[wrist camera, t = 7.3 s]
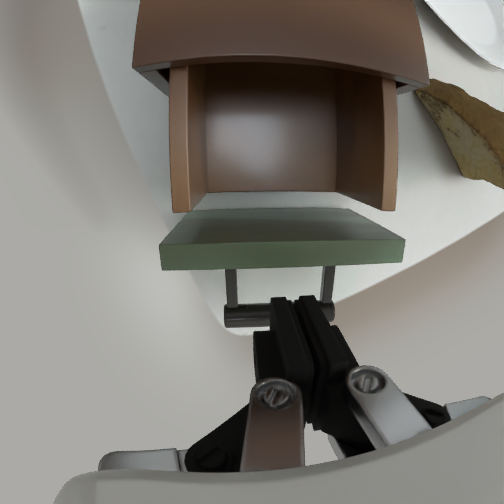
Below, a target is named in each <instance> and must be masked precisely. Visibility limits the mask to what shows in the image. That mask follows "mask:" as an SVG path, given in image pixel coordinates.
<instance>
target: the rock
mask: <svg viewBox="0 0 504 504" xmlns="http://www.w3.org/2000/svg"><path fill="white" fill-rule="evenodd" d="M429 82H430V85H429V86H426V87H422V88H420V89H416V90H415V92H416V94H417V95H418V97H419V99H420V100H421V102H422V103H423V104H424V105H425V107H426V108H427V110H428V111H429V113H430V114H431V116H432V118H433V119H434V121H435V123H436V124H437V125H438V127H439V129H440V131H441V132H442V134H443V136H444V140H445V142H446V143H447V145H448V147H449V149H450V151H451V153H452V155H453V156H454V158H455V160H456V161H457V163H458V166H459V169H460V171H461V173H462V174H463V176H464V177H465V178H469V179H474V180H482V179H483V180H485V181H487V182H490V183H492V184H493V185H495V186H498V187H500V188H502V189H504V112H501V111H499V110H496V109H494V108H493V107H491V106H489V105H488V104H487V103H485V102H483V101H480V100H479V99H477V98H475V97H471V96H470V95H468V94H467V93H466V92H465V91H464V90H463V89H461V88H460V87H458V86H455V85H453V84H447V83H444V82H441V81H438V80H436V79H429Z"/></svg>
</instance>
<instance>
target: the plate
mask: <svg viewBox="0 0 504 504" xmlns="http://www.w3.org/2000/svg"><path fill="white" fill-rule="evenodd" d="M424 1H425V2H426V3H427V4H428V6H429V7H430V8H431V9H432V10H433V11H434V12H435V13H436V15H437V16H438V17H439V18H440V19H441V20H442V21H443V22H444V23H445V24H446V25H447V26H448V27H449V28H450V29H451V30H452V31H453V32H454V33H455V34H456V35H457V37H458V38H459V39H461V40H462V41H463V42H464V43H465V44H466V45H467V46H469V47H470V48H471V49H472V50H473V51H474V52H475V53H476V54H478V55H479V56H480V57H482V58H483V59H485V60H486V61H487V62H489V63H490V64H492V65H494V66H497V67H499V68H501V69H504V3H503V1H502V0H424Z"/></svg>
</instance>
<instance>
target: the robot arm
mask: <svg viewBox="0 0 504 504" xmlns="http://www.w3.org/2000/svg"><path fill="white" fill-rule="evenodd" d="M253 351H254V368H255V377H256V384H255V385H254V387H253V388H252V390H251V394H250V401H249V404H247V405H246V406H245V407H244V408H242V409H241V410H240V411H238V412H237V413H236V414H235V415H233V416H232V417H231V418H229V419H228V420H227V421H225V422H224V423H223V424H221V425H220V426H219V427H218V428H216V429H215V430H214V431H212V432H211V433H209V434H208V435H206V436H205V437H203V438H202V439H201V440H199V441H198V442H196V443H195V444H193V445H192V446H191V447H190V448H189V449H187V450H178V451H177V449H176V448H171V449H160V450H146V451H116V452H111V453H108V454H106V455H105V456H103V458H102V459H101V460H100V462H99V466H98V471H95V472H89V473H86V474H81V475H78V476H76V477H73V478H72V479H70V480H69V481H68V482H67V483H66V484H65V485H64V486H63V487H62V489H61V490H60V492H59V494H58V495H57V497H56V499H55V501H54V504H504V393H502V394H500V395H498V396H496V397H494V398H493V399H490V398H488V397H485V396H482V397H477V398H472V399H468V400H463V401H459V402H454V403H449V404H445V405H444V406H443V407H442V406H441V405H438V404H436V403H433V402H430V401H427V400H424V399H421V398H417V397H415V396H412V395H409V394H406V393H403V392H401V390H400V389H399V388H398V387H397V385H396V384H395V383H394V382H393V381H392V380H391V378H390V377H389V376H388V375H387V374H386V373H385V372H384V371H383V370H381V369H379V368H377V367H374V366H365V365H364V366H359V365H358V363H357V361H356V359H355V357H354V355H353V353H352V352H351V350H350V348H349V346H348V344H347V342H346V341H345V339H344V337H343V335H342V333H341V332H340V330H339V328H338V327H337V326H336V325H332V326H330V324H329V322H328V320H327V318H326V316H325V314H324V313H323V311H322V309H321V307H320V305H319V303H318V301H317V300H316V298H315V296H314V295H308V296H300V297H299V300H294V307H293V304H292V301H291V300H286V297H273V298H271V302H270V331H254V332H253ZM306 421H307V423H308V424H309V423H312V425H313V429H314V431H315V430H322V432H325V433H327V434H328V439H329V442H330V444H331V446H332V448H333V450H334V452H335V454H336V456H337V458H338V460H336V461H331V462H326V463H320V464H315V465H309V466H305V450H304V449H305V448H304V428H305V424H306Z"/></svg>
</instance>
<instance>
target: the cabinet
mask: <svg viewBox="0 0 504 504" xmlns="http://www.w3.org/2000/svg"><path fill="white" fill-rule="evenodd" d="M222 62H277V63H294V64H305V65H315V66H323V67H331V68H337V69H344V70H350V71H355V72H360V73H365V74H370V75H375V76H379V77H383V78H387V79H391V80H395V82H396V94H397V95H399V94H402V93H406V92H409V91H413V90H416V89H420V88H422V87H426V86H429V85H430V82H429V74H428V67H427V60H426V54H425V48H424V43H423V38H422V33H421V29H420V24H419V20H418V16H417V12H416V9H415V5H414V2H413V0H140V6H139V12H138V18H137V25H136V33H135V41H134V51H133V62H132V68H133V69H134V70H136V71H137V72H139V74H140V75H142V76H143V77H144V78H146V79H147V80H148V81H149V82H151V83H152V84H153V85H154V86H156V87H157V88H158V89H159V90H160V91H162V92H163V93H164V94H165V95H167V96H168V97H169V80H170V67H176V66H184V65H194V64H206V63H222Z"/></svg>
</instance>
